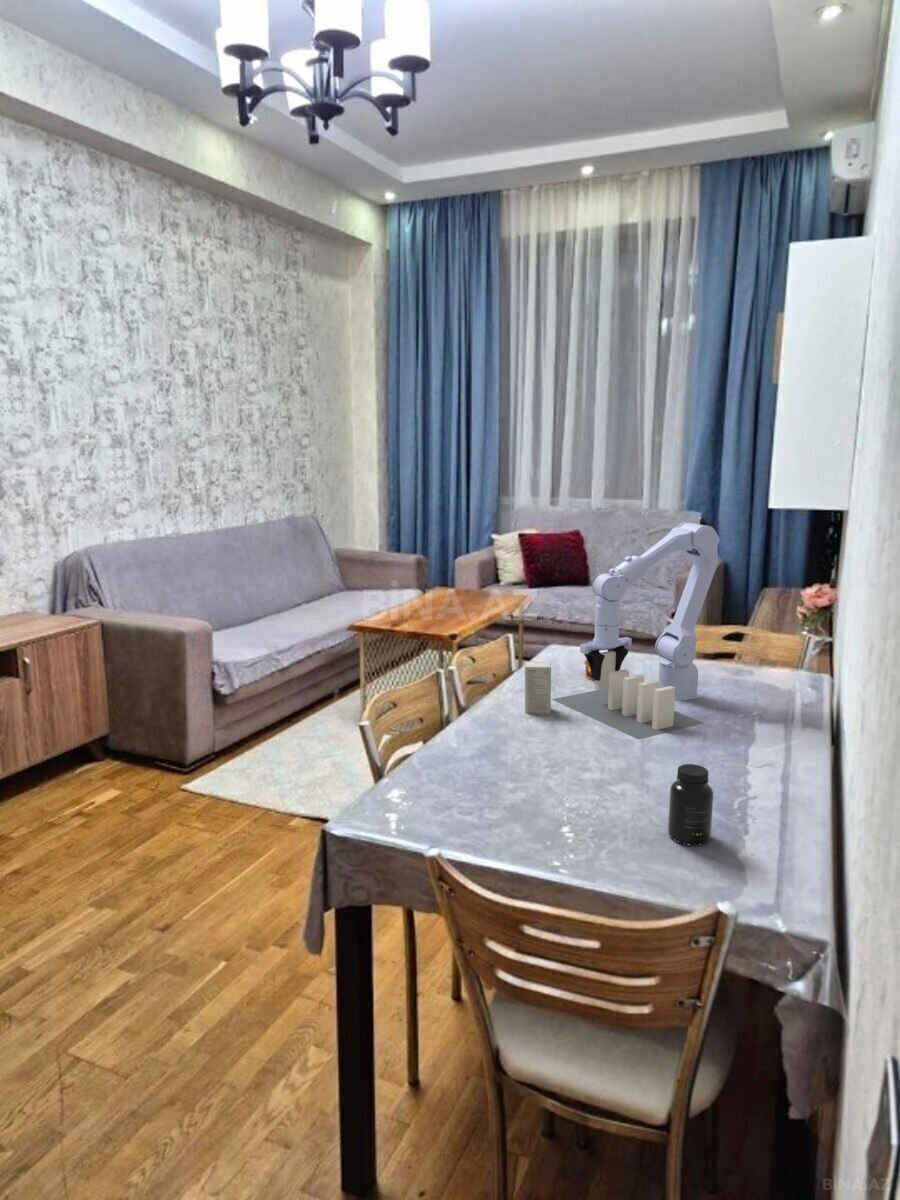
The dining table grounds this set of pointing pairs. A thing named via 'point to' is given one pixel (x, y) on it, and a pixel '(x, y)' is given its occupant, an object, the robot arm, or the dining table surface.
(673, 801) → the supplement bottle
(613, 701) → the domino
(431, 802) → the dining table surface
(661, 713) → the domino
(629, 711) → the domino
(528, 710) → the skincare box
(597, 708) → the mat
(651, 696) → the domino
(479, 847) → the dining table surface
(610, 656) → the domino
